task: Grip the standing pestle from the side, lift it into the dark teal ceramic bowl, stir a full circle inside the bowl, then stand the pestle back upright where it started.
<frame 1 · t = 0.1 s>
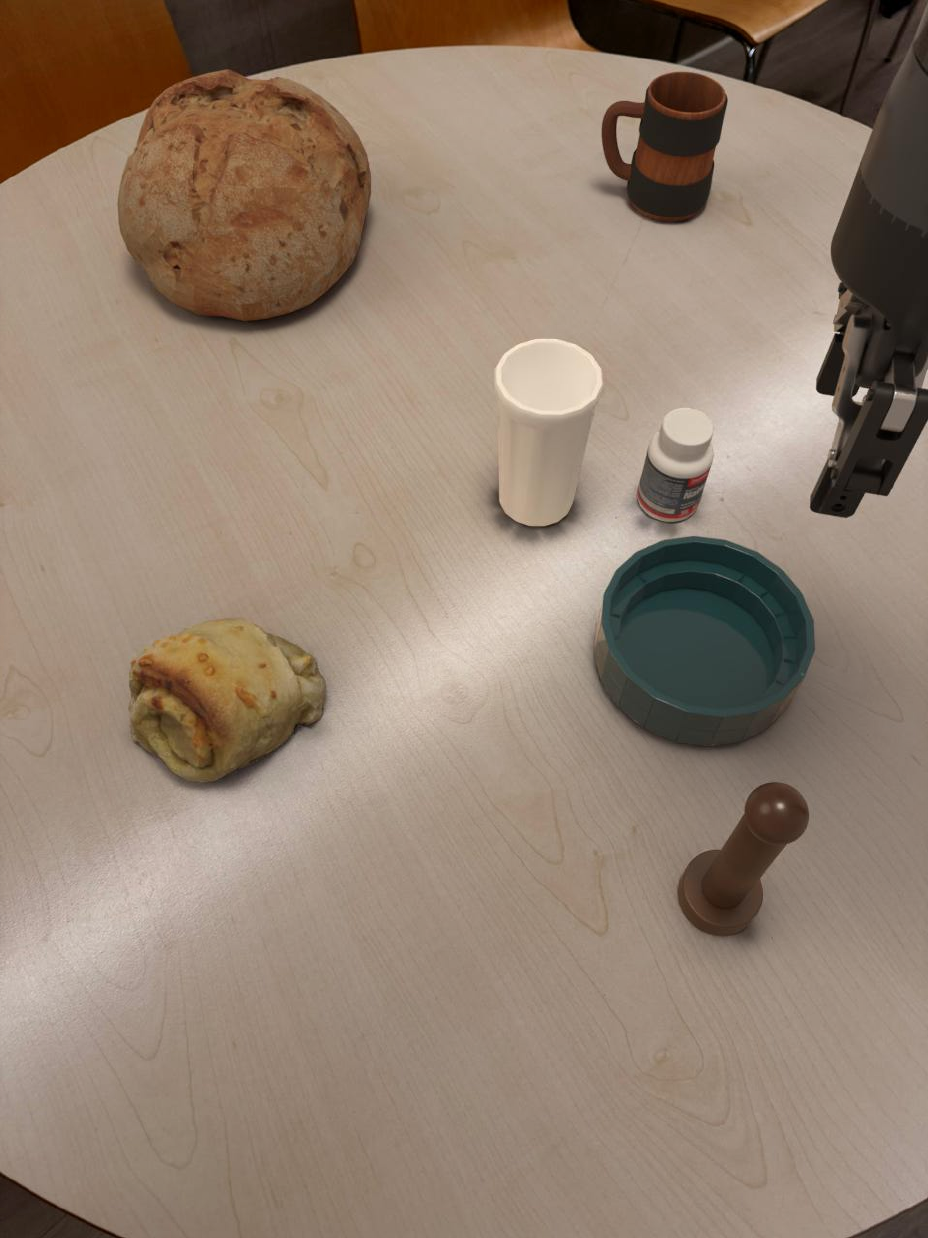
hand: (831, 448, 54), 27 cm above the table, tool pointing down, fingers open, 8 cm apart
cup: (535, 501, 87), on the table
pill bottle: (667, 500, 87), on the table
pastry: (229, 712, 76), on the table
pestle: (716, 897, 69), on the table
bowl: (692, 659, 78), on the table
bread: (253, 244, 104), on the table
mug: (649, 199, 109), on the table
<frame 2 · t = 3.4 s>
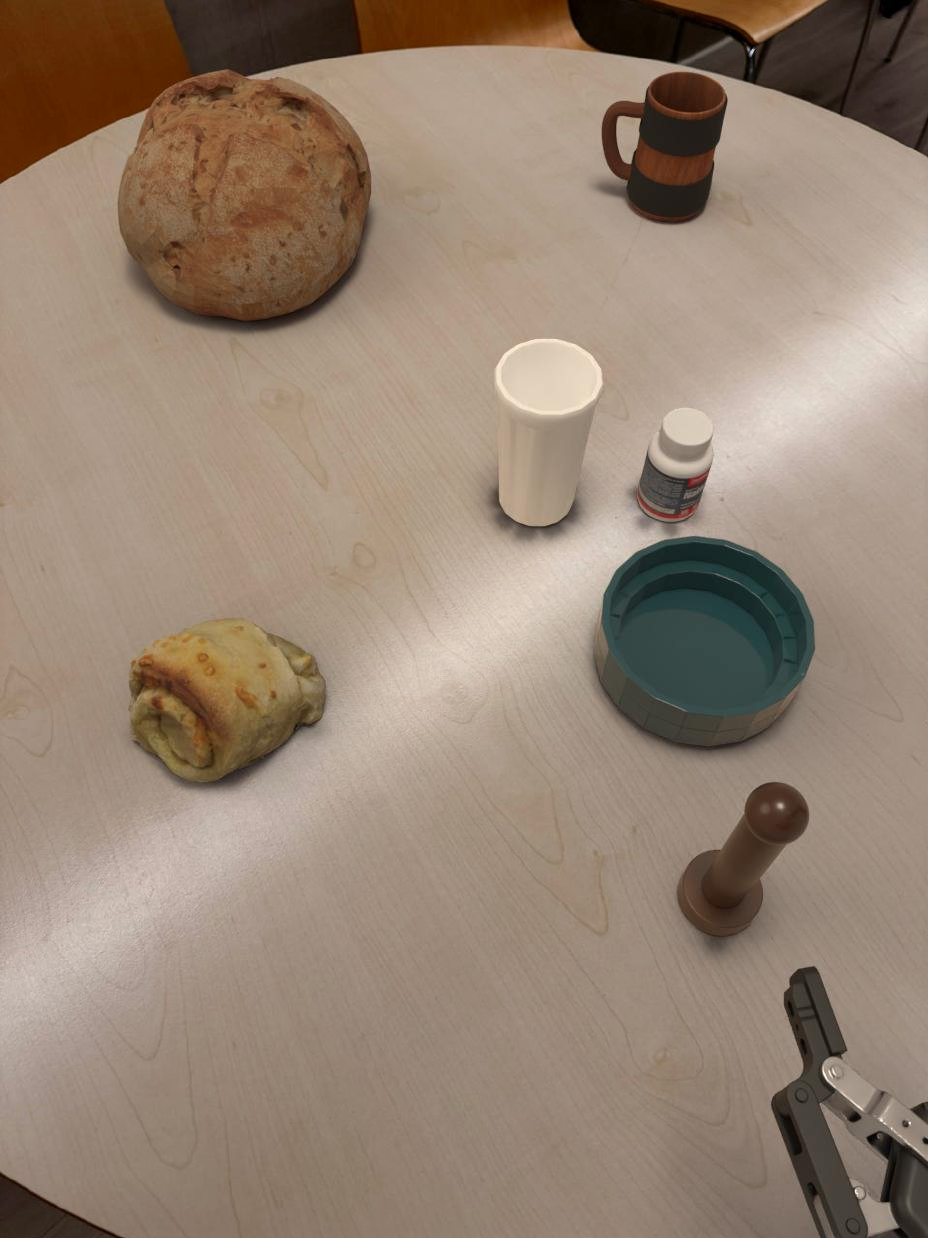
hand: (889, 956, 47), 20 cm above the table, tool horizontal, fingers open, 8 cm apart
nothing on the table moved.
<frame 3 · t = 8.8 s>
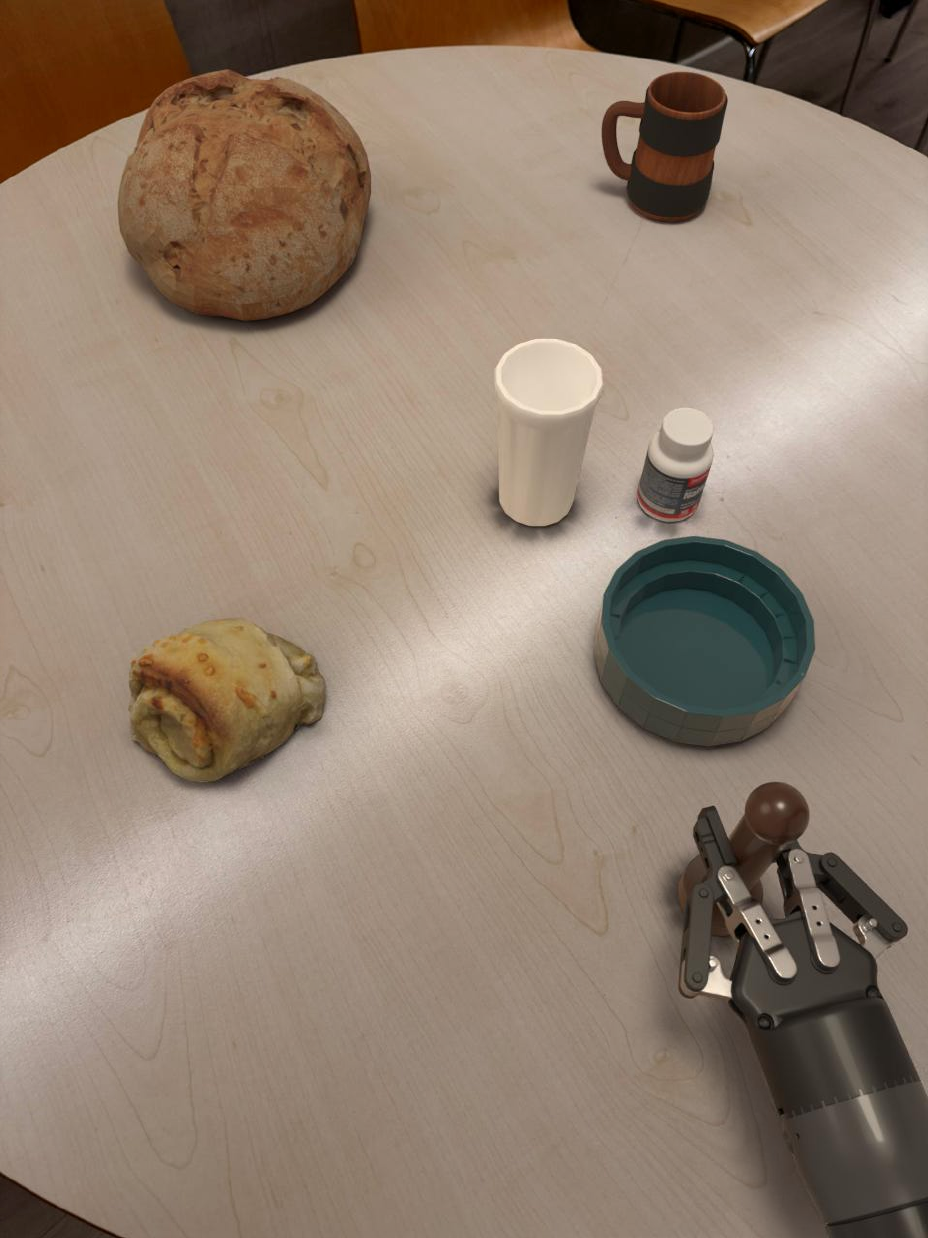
hand: (731, 806, 62), 9 cm above the table, tool horizontal, fingers closed on pestle, 3 cm apart
pestle: (716, 897, 69), on the table, touching gripper
everything else where it was.
when the fingers open (9 cm above the table, at t = 26.5 s): pestle stays where it is, on the table.
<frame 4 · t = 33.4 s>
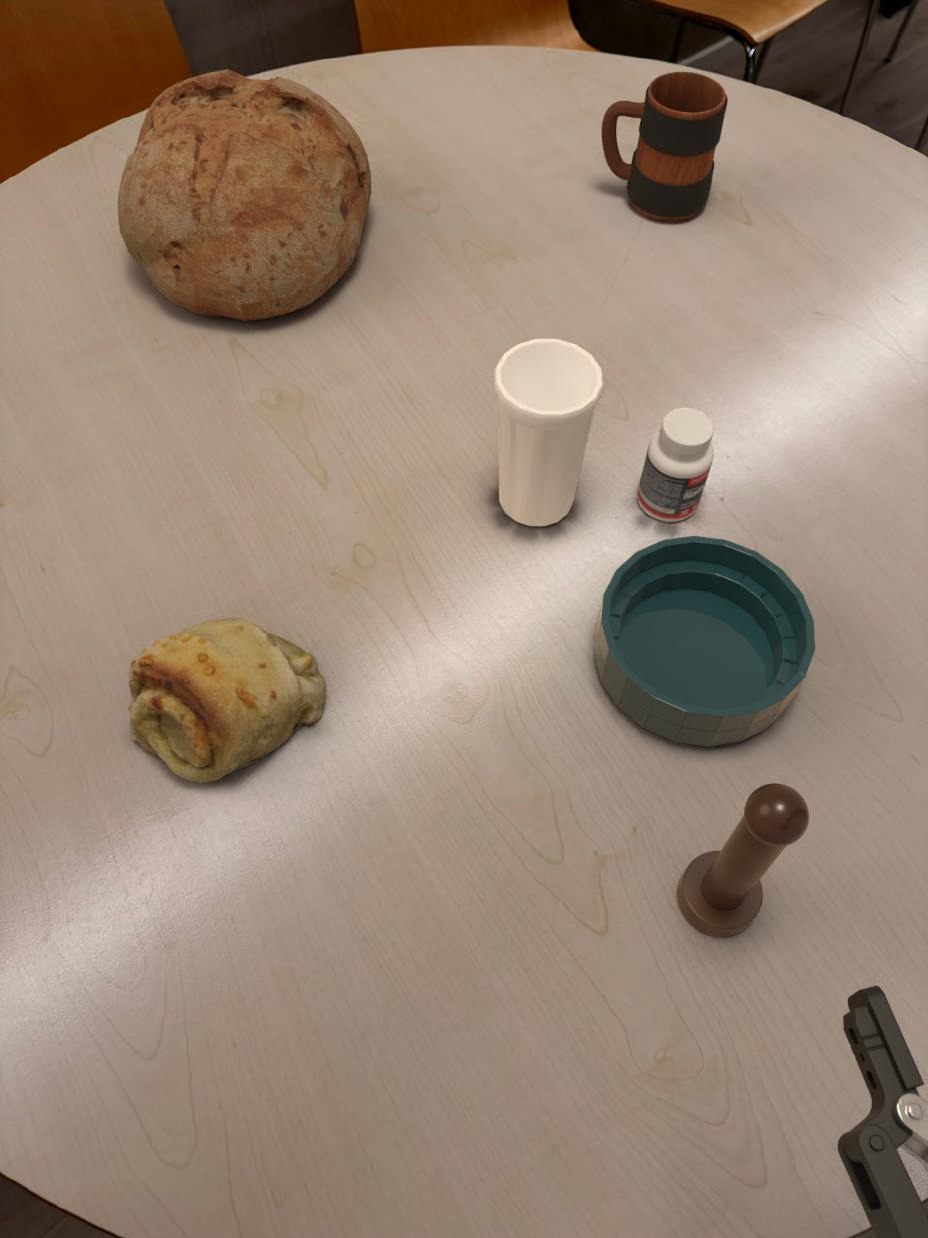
pestle: (716, 898, 69), on the table
everything else where it was.
at the end: pestle inside the target area (0.1 cm from its centre), on the table; pestle tilted 0°; mug moved 0.2 cm from its start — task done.
